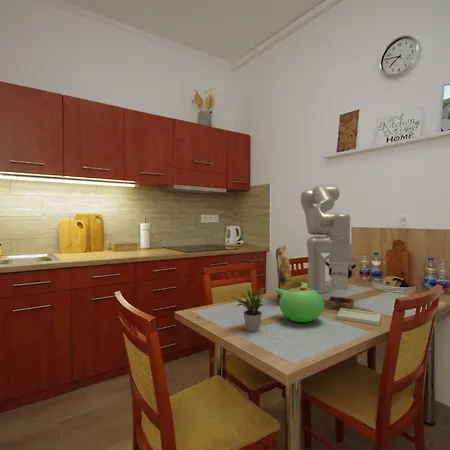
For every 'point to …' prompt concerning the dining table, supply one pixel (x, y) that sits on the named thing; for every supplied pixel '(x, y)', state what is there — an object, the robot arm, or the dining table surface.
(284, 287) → the pancake mix bag
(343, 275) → the supplement box
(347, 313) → the tray
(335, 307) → the caddy
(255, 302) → the house plant
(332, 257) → the robot arm
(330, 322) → the dining table surface
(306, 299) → the round teapot
